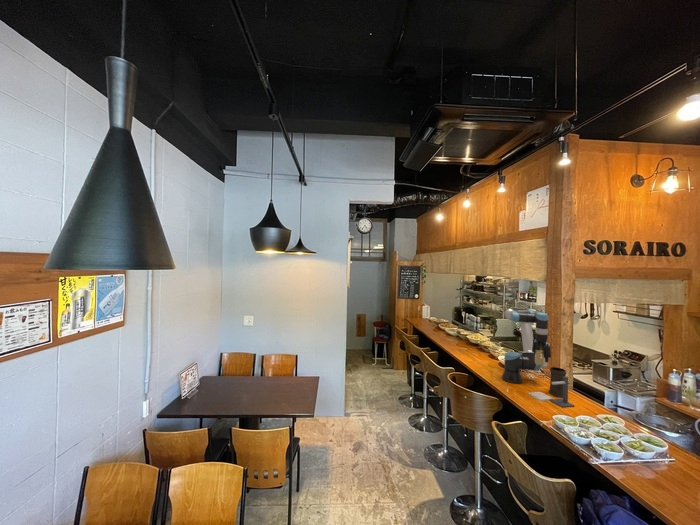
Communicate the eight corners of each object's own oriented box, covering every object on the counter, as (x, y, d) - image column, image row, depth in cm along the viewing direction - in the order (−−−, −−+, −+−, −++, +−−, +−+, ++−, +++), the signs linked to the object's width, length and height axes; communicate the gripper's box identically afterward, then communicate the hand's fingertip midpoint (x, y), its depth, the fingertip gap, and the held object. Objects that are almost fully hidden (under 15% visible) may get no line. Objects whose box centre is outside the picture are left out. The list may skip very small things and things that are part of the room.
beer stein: (570, 399, 210) (569, 371, 212) (553, 397, 213) (553, 370, 214) (559, 391, 225) (558, 365, 227) (544, 389, 228) (543, 364, 229)
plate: (528, 394, 217) (528, 392, 217) (540, 393, 219) (540, 391, 219) (540, 401, 206) (540, 399, 206) (553, 400, 208) (553, 398, 208)
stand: (546, 401, 207) (546, 375, 207) (561, 399, 209) (561, 374, 209) (558, 408, 197) (558, 380, 197) (574, 406, 199) (574, 379, 199)
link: (535, 364, 216) (535, 349, 216) (538, 363, 216) (539, 349, 216) (543, 367, 209) (543, 352, 209) (546, 367, 210) (547, 352, 210)
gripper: (526, 330, 222) (526, 359, 222) (549, 337, 202) (548, 369, 202) (534, 330, 223) (534, 359, 223) (557, 337, 204) (557, 368, 204)
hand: (541, 364), depth 213 cm, fingers closed on link, 7 cm apart
